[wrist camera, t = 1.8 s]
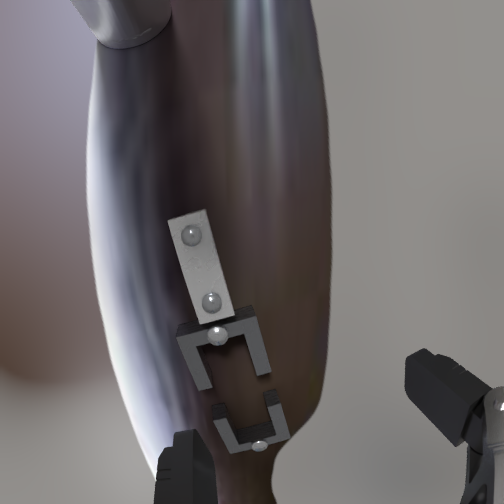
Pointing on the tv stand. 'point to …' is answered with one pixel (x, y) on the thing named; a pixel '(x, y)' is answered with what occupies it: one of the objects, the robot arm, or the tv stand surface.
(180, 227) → the bolted link plate
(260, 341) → the end link
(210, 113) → the tv stand surface
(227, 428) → the end link
